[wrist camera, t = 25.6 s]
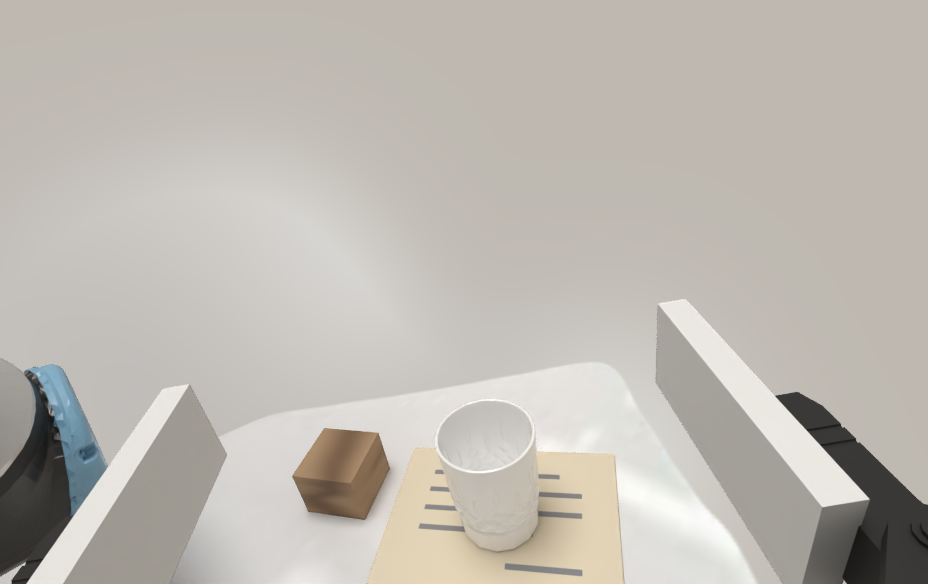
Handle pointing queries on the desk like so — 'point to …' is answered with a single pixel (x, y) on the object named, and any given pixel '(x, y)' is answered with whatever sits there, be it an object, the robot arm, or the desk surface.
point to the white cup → (491, 471)
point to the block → (342, 473)
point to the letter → (517, 570)
